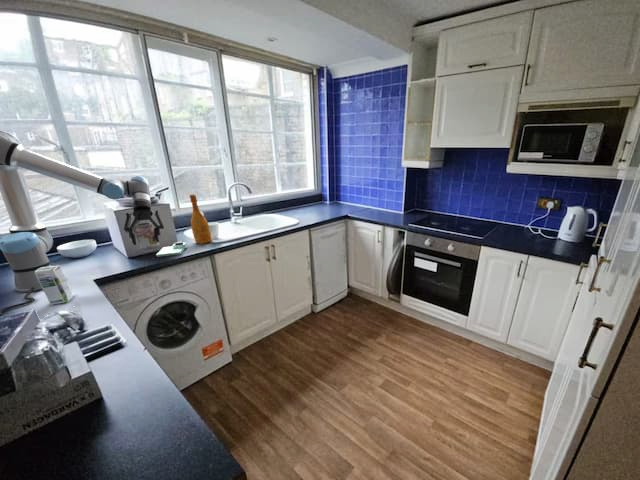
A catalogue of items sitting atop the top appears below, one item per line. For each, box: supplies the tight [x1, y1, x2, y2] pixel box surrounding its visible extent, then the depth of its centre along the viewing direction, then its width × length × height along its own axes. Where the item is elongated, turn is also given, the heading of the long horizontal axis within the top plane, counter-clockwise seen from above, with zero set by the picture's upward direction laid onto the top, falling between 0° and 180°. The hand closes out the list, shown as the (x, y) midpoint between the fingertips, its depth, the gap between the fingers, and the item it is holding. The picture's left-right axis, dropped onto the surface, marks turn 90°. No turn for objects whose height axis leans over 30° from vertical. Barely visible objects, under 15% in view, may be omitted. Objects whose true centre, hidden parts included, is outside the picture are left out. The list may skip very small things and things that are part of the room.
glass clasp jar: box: [132, 222, 160, 251], centre depth 145 cm, size 9×8×12 cm
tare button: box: [174, 240, 184, 246], centre depth 175 cm, size 4×4×2 cm
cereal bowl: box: [56, 239, 98, 259], centre depth 168 cm, size 17×17×7 cm
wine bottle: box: [189, 194, 213, 245], centre depth 182 cm, size 10×10×30 cm
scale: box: [155, 242, 187, 258], centre depth 172 cm, size 14×13×3 cm
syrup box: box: [34, 264, 74, 306], centre depth 116 cm, size 6×6×14 cm
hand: (145, 241), depth 144 cm, fingers closed on glass clasp jar, 9 cm apart
